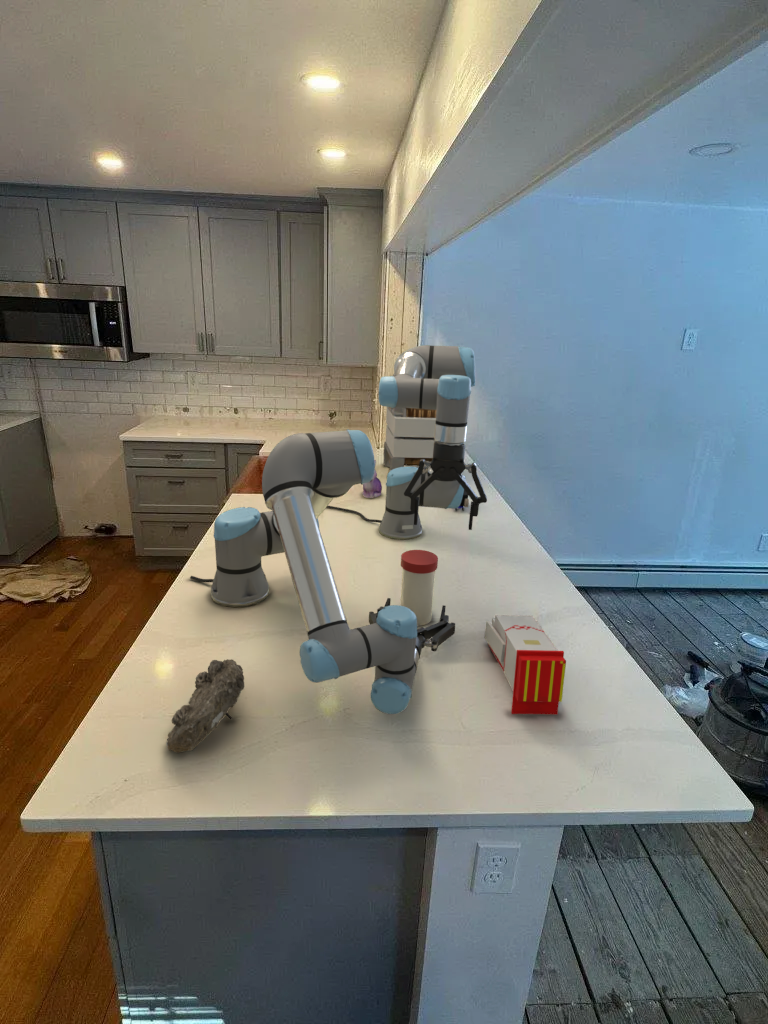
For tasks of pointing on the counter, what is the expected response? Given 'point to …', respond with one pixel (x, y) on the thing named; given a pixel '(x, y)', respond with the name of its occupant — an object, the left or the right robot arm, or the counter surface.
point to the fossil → (206, 705)
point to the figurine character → (464, 501)
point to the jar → (418, 594)
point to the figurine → (372, 487)
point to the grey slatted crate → (408, 436)
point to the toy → (527, 663)
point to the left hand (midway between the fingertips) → (416, 606)
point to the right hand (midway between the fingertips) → (442, 525)
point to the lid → (419, 561)
